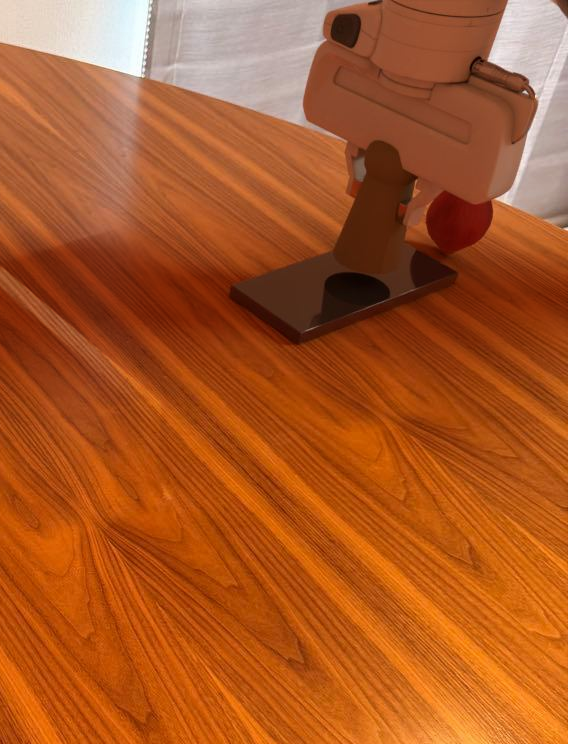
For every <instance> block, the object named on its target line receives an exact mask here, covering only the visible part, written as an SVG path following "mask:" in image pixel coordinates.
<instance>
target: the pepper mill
mask: <svg viewBox="0 0 568 744" xmlns="http://www.w3.org/2000/svg"><path fill="white" fill-rule="evenodd" d="M364 166H365V168H366V171H367V172H366V175H365V177H364V179H363V182H362V184H361V186H360V189H359V191H358V193H357V196H356V198H354V201H353V203H352V205H351V207H350V209H349V212H348V214H347V217H346V219H345V222H344V224H343V226H342V228H341V231H340V233H339V234H338V235H339V236H338V238H337V240H336V242H335V245H334V247H333V249H332V250H333V256H334V258H335V260H336V261H338V262H339V263H340V264H341V265H343V266H345V267H346V268H348V269H351V270H354V271H357V272H360V273H366V274H386V273H390V272H393V271H395V270H397V269H398V267H399V266H400V264H401V258H402V253H403V247H404V242H405V241H406V235H407V230H408V227H406V226H405V225H403V224H401V223H399V222H397V221H396V219H395V216H396V214H397V208H398V204H399V202H401V201H405V200H407V201H408V199H410V198H414V197H413V196H414V191H415V186H416V182H417V180H418V177H417V176H415V175H413V174H411V173H409V172H407V171H405V170H404V169H403V168H402V164H401V159H400V155H399V152H398V151H397V149H396V148H394V147H393V146H392V145H390V144H388V143H386V142H384V141H381V140H375V141H373V142H372V143H370V144H369V146H368V147H367V149H366V152H365V157H364Z"/></svg>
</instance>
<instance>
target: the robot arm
mask: <svg viewBox="0 0 568 744" xmlns="http://www.w3.org/2000/svg"><path fill="white" fill-rule="evenodd" d="M549 2H551V3H553V4H554V5H555V6H556V7H558V8H559V10H560V11H561V13H562V14H563V15H564V16H565V18H566V19H567V20H568V0H549ZM508 3H509V0H373V1H372V0H371V1H366V2H365V1H364V2H361V3H355V4H351V5H346V6H343V7H339V8H336V9H332V10H330V11H328V12H327V13H326V14H325V17H324V20H323V24H322V36H323V37H324V39H326V40H324V41H323V42H322V43H320V45H319V46H318V47H317V49H316V51H315V53H314V55H313V59H312V62H311V65H310V69H309V72H308V76H307V80H306V84H305V89H304V93H303V97H302V109H303V113H304V116H305V119H306V121H307V122H308V123H311V124H312V125H315V126H316V127H319V128H320V129H323V130H324V131H326V132H328V133H331V134H332V135H334V136H336V137H338V138H340V139H342V140H344V141H346V146H345V149H344V155H345V156H344V157H345V163H346V166H347V173H348V175H349V178H348V180H347V181H348V182H347V186H346V189H345V194H346V195H348V196H350V197H352V198H353V199H355V198H356V196H357V193H358V191H359V189H360V186H361V184H362V182H363V179H364V177H365V175H366V172H367V171H366V168H365V166H364V157H365V152H366V149H367V147H368V146H369V144H370V143H372V142H373V141H375V140H381V141H384V142H386V143H388V144H390V145H392V146H393V147H394V148H396V149H397V151H398V152H399V155H400V159H401V164H402V168H403V169H404V170H405V171H407V172H409V173H411V174H413V175H415V176H417V177H418V179H417V180H416V182H415V186H414V189H416V190H417V191H419V192H418V193H417V194H416V195H415V196H414V197H412V198H410V199H408V201H407V200H405V201H401V202H399V204H398V208H397V214H396V216H395V219H396V221H397V222H399V223H401V224H403V225H405V226H406V227H407V229H409V228H413V227H415V226H417V225H419V224H420V223H421V221H422V219H423V216H424V214H425V210H426V207H427V206H428V205H430V204H431V203H432V201H433V200H434V199H435V198H436V197H437V196H438V195H439V194H440V193H441V192H442V191H444V190H445V191H447V192H449V193H451V194H453V195H455V196H457V197H459V198H461V199H463V200H465V201H467V202H469V203H471V204H481V203H484V202H487V201H490V200H491V201H493V200H495V199H497V198H500V197H501V196H503V195H505V194H507V192H509V191H510V190H511V189H512V188H513V186H514V183H515V181H516V178H517V175H518V172H519V169H520V165H521V162H522V158H523V155H524V151H525V146H526V143H527V138H528V134H529V131H530V129H531V127H532V125H533V122H534V120H535V117H536V115H537V113H538V109H539V99H538V98H537V94H536V91H535V90H534V88H533V87H532V86H531V85H530V79H529V78H528V77H526V76H525V75H523V74H521V73H519V72H515V71H514V72H512V71H510V70H508V69H506V68H504V67H502V66H500V65H498V64H496V63H494V62H491V61H489V57H490V54H491V52H492V48H493V45H494V43H495V40H496V38H497V35H498V31H499V28H500V25H501V23H502V20H503V17H504V14H505V11H506V8H507V6H508Z"/></svg>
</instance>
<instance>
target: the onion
mask: <svg viewBox="0 0 568 744" xmlns="http://www.w3.org/2000/svg"><path fill="white" fill-rule="evenodd" d="M492 201H493V200H490V201H487V202H484V203H481V204H471V203H469V202H467V201H465V200H463V199H461V198H459V197H457V196H455V195H453V194H451V193H449V192H447V191H445V190H444V191H442V192H441V193H440V194H439V195H438V196H437V197H436V198H435V199H434V200H432V201H431V202H430V203H429V206H428V209H427V211H426V216H425V225H426V230H427V234H428V237H430V239H431V240H432V241H433V242H434V244H435V245H436V247H438V249H439V250H440V252H441V253H442V254H444V255H452V254H454V253H457V252H459V251H462V250H464V249H466V248H469V247H471V246H473V245H475V244H476V243H478V242H479V241H480V240H482V239H483V237H484V236H485V235H486V234H487V232H488V230H489V229H490V228H491V226H492V221H493V218H494V207H493V203H492Z"/></svg>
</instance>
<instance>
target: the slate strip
mask: <svg viewBox="0 0 568 744" xmlns="http://www.w3.org/2000/svg"><path fill="white" fill-rule="evenodd" d="M333 250H334V249H332V250H329V251H326V252H323V253H320V254H318V255H314V256H312V257H309V258H306V259H303V260H300V261H297V262H294V263H291V264H288V265H286V266H283V267H280V268H276V269H273V270H272V271H268V272H265V273H263V274H262V273H261V274H259V275H256V276H253V277H249V278H247V279H244V280H242V281H241V280H240V281H238V282H235V283H233V284H231V285H230V288H229V294H228V297H229V298H230V299H232V300H234V302H236V303H237V304H239V305H241V306H242V307H244V309H246V310H247V311H249V312H250V313H252V314H253V315H255V316H257V317H258V318H259V319H260V320H262V321H264V322H265V323H266V324H268V325H269V326H270V327H272V328H273V329H275V330H276V331H278V332H279V333H280V334H282V335H283V336H285V337H286V338H288V339H289V340H291V341H292V342H293V343H295V344H296V345H301V344H303V343H306V342H309V341H311V340H314V339H316V338H318V337H321V336H324V335H327V334H329V333H332V332H335V331H336V330H340V329H343V328H344V327H345V328H346V327H347V326H350V325H353V324H355V323H357V322H360V321H363V320H365V319H368V318H370V317H373V316H376V315H378V314H381V313H383V312H386V311H389V310H391V309H394V308H396V307H400V306H401V305H404V304H407V303H409V302H412V301H415V300H417V299H420V298H423V297H424V296H425V297H426V296H428V295H430V294H433V293H435V292H438V291H440V290H443V289H445V288H448V287H451V286H454V285H455V284H456V283H457V279H458V277H459V275H460V272H459V271H457V270H455V269H454V268H452V267H450V266H448V265H447V264H444V263H443V262H441V261H439V260H437V259H435V258H434V257H432V256H431V255H429V254H427V253H425V252H423V251H422V250H420V249H418V248H416V247H414V246H412V245H410V244H409V243H407V242H405V241H404V247H403V253H402V258H401V264H400V266H399V267H398V269H397V270H395V271H393V272H390V273H386V274H366V273H360V272H357V271H354V270H351V269H348V268H346V267H345V266H343V265H341V264H340V263H339V262H338V261H336V260H335V258H334V256H333Z"/></svg>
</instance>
